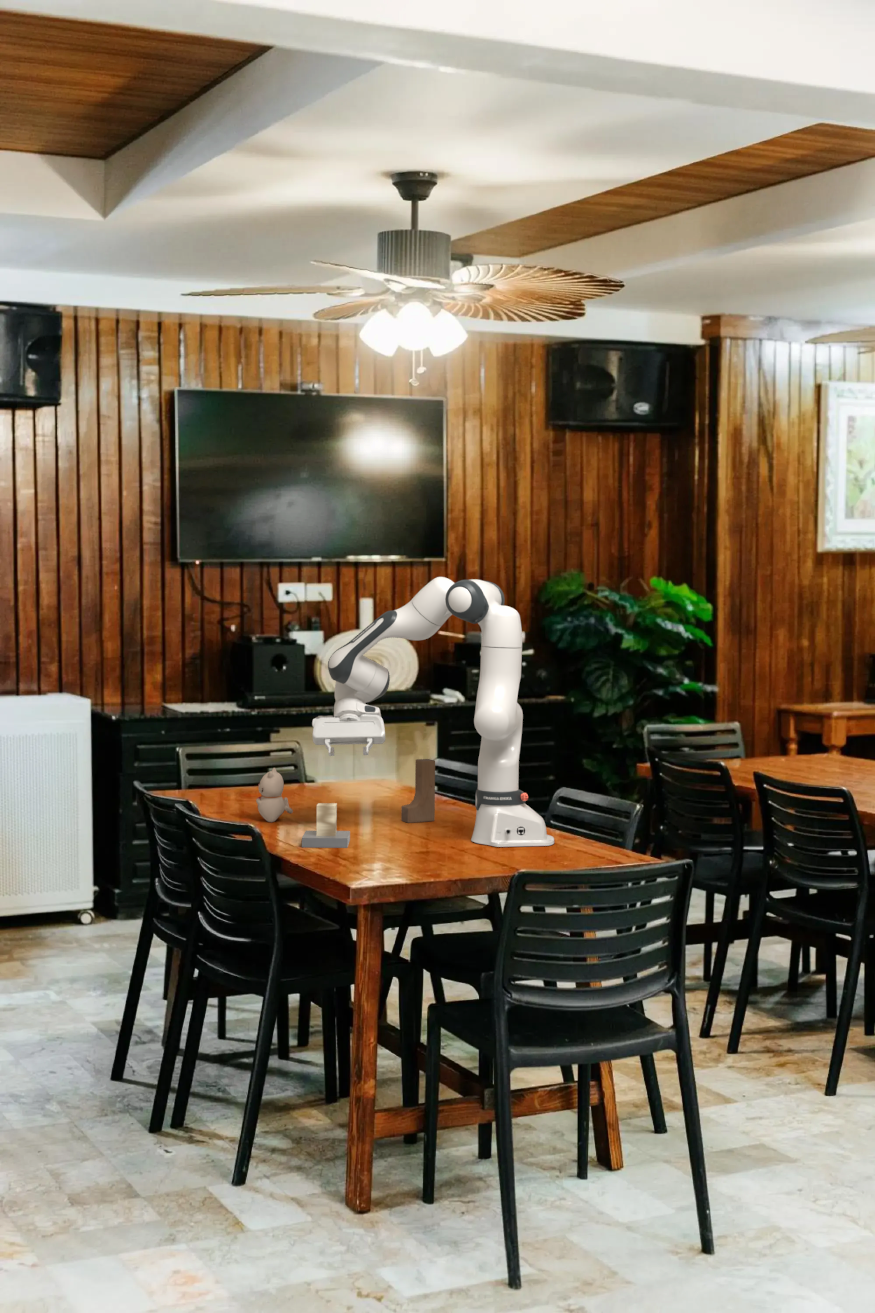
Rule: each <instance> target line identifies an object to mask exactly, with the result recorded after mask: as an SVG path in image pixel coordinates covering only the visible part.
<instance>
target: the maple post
mask: <svg viewBox="0 0 875 1313" xmlns="http://www.w3.org/2000/svg"><path fill="white" fill-rule="evenodd" d="M337 805H338V803H337V802H336V803H335V802H331V803H330V802H327V803H326V802H325V803H324V802H318V803H317V804H316V831H317V832H316V836H336V833H337V831H338V830H337V828H338V827H337V824H338V823H337V820H338V819H337V818H338V817H337V815H338V814H337V810H338V806H337Z"/></svg>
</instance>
